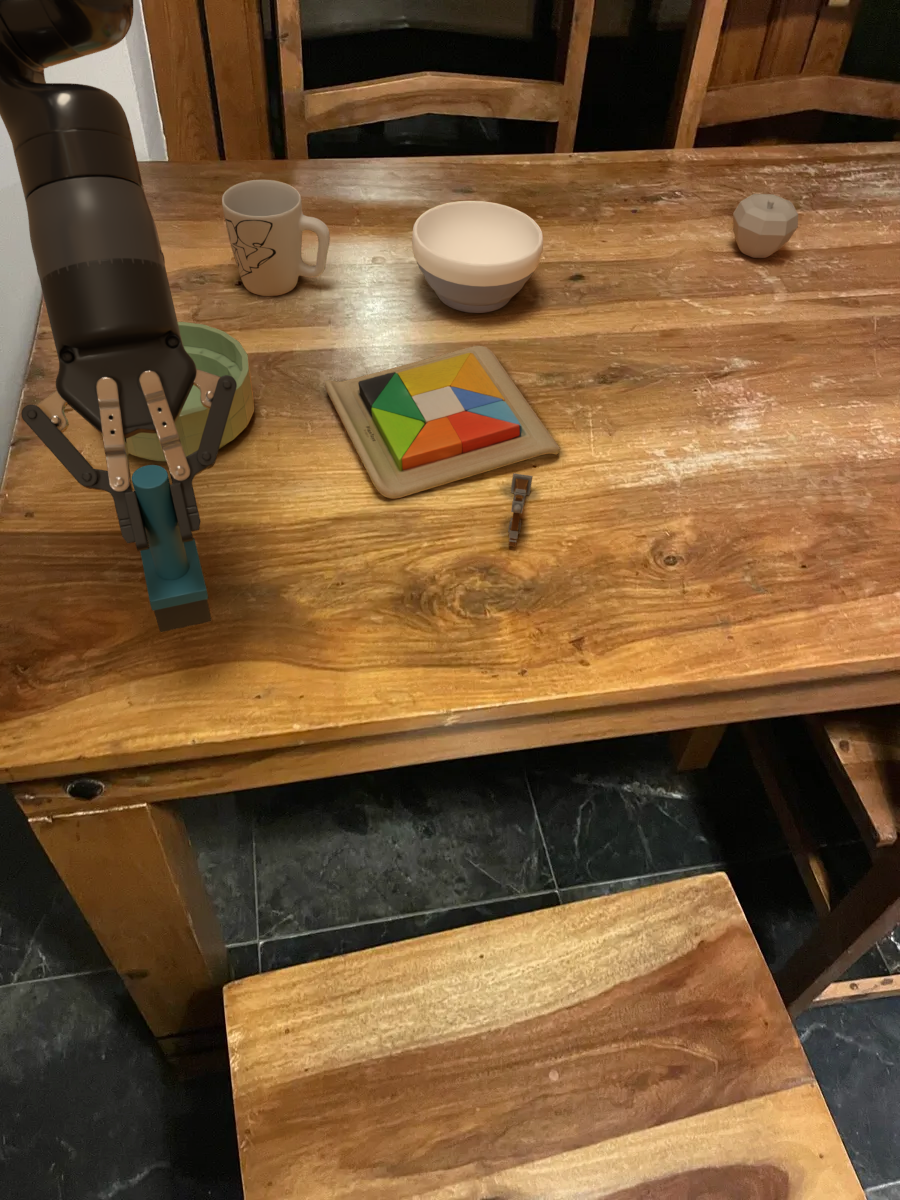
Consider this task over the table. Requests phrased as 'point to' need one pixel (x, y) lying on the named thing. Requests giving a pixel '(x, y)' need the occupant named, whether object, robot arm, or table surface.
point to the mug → (271, 235)
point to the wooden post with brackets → (518, 504)
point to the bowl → (476, 253)
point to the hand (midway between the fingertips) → (166, 544)
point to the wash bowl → (212, 356)
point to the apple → (763, 224)
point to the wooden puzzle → (438, 421)
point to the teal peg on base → (169, 556)
